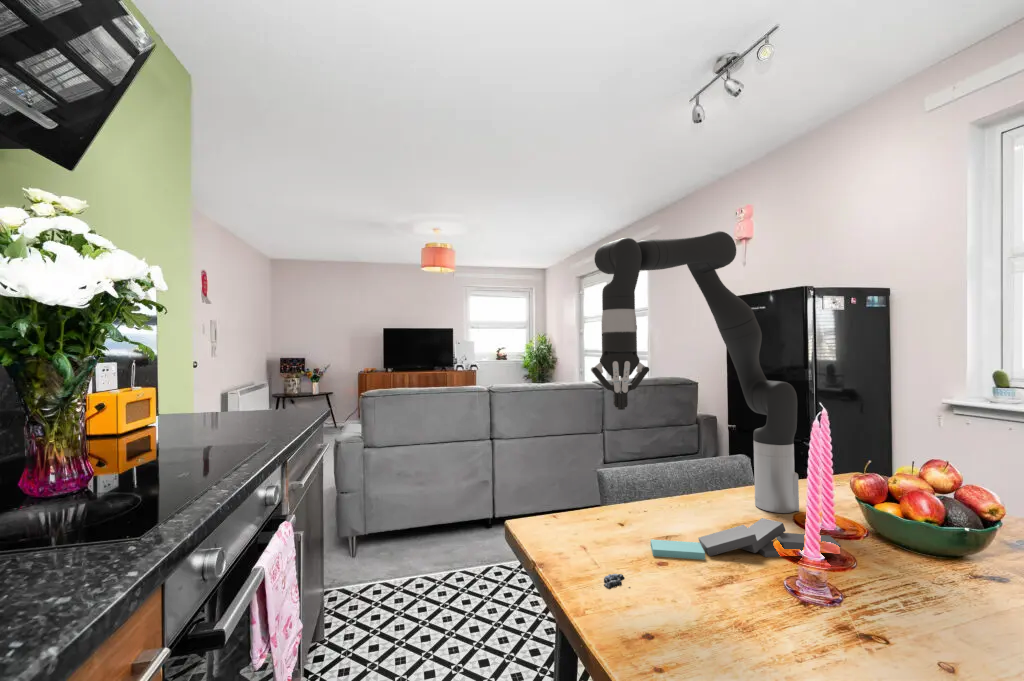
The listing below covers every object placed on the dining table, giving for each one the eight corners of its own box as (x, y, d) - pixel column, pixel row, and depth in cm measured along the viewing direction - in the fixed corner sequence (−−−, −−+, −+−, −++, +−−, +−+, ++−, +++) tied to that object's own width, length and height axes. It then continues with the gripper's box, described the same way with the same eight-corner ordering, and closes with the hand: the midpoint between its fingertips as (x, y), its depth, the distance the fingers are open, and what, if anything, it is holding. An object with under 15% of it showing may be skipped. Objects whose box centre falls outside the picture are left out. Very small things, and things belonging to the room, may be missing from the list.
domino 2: (734, 546, 97) (764, 525, 102) (755, 553, 93) (785, 530, 97) (731, 538, 97) (762, 518, 102) (752, 544, 93) (782, 522, 97)
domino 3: (752, 550, 98) (799, 549, 98) (765, 560, 93) (814, 560, 93) (751, 541, 98) (798, 540, 98) (764, 551, 93) (814, 550, 93)
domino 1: (700, 545, 98) (746, 532, 98) (709, 556, 93) (757, 542, 93) (698, 537, 98) (743, 524, 98) (707, 547, 93) (755, 534, 93)
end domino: (650, 547, 99) (700, 551, 97) (653, 558, 94) (705, 562, 92) (650, 539, 99) (699, 542, 97) (653, 549, 94) (705, 552, 92)
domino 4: (776, 540, 98) (830, 544, 95) (784, 550, 93) (840, 554, 91) (776, 532, 98) (829, 535, 95) (784, 541, 93) (840, 545, 91)
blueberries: (641, 584, 84) (641, 573, 85) (624, 600, 78) (625, 588, 78) (606, 574, 88) (606, 564, 89) (588, 588, 82) (588, 577, 82)
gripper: (645, 331, 105) (646, 407, 105) (586, 331, 105) (588, 407, 105) (653, 329, 97) (655, 411, 97) (591, 330, 98) (592, 412, 98)
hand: (620, 409), depth 101 cm, fingers closed
